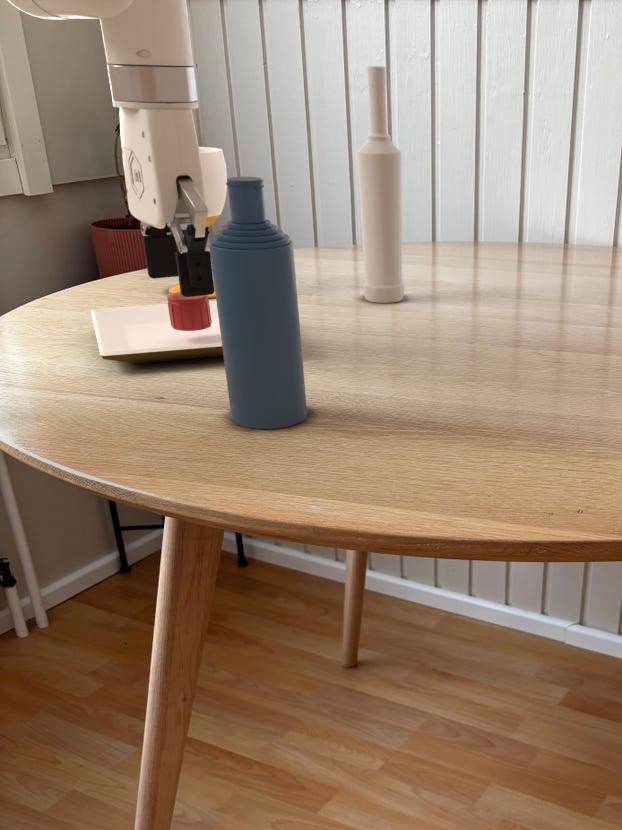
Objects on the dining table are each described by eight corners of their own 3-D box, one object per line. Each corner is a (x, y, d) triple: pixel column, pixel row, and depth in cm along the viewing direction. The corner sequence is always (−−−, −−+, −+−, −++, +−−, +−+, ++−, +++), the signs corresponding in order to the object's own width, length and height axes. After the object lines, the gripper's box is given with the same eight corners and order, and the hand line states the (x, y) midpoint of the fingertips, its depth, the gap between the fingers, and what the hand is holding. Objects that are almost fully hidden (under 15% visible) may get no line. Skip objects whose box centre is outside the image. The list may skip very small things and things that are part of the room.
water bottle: (240, 433, 77) (209, 185, 67) (224, 409, 82) (193, 174, 72) (316, 423, 79) (297, 182, 69) (296, 400, 84) (275, 172, 74)
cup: (247, 283, 124) (232, 147, 116) (234, 299, 117) (217, 154, 108) (178, 282, 124) (157, 145, 115) (160, 298, 116) (137, 153, 108)
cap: (194, 333, 95) (189, 301, 93) (163, 328, 96) (158, 296, 95) (219, 324, 98) (215, 293, 96) (189, 319, 99) (185, 289, 98)
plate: (93, 327, 104) (90, 308, 103) (262, 315, 110) (260, 296, 109) (104, 375, 89) (99, 353, 88) (297, 358, 96) (296, 337, 94)
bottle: (402, 293, 121) (397, 66, 107) (406, 302, 116) (401, 67, 103) (362, 294, 120) (351, 65, 106) (365, 303, 116) (354, 66, 102)
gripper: (85, 85, 90) (117, 273, 99) (143, 93, 78) (173, 307, 87) (163, 86, 93) (187, 267, 102) (229, 94, 81) (249, 299, 90)
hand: (180, 285), depth 95 cm, fingers open, 9 cm apart
